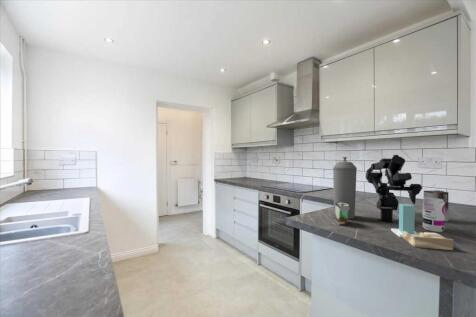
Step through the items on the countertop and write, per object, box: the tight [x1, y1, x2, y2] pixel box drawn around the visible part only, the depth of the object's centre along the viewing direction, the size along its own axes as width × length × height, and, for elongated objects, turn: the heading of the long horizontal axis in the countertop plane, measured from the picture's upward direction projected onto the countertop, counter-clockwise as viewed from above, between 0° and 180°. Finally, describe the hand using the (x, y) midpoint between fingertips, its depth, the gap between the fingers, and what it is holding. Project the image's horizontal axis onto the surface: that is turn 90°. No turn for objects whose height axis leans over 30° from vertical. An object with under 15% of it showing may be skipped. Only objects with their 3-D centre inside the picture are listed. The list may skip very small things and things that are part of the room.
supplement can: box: [421, 197, 446, 233], centre depth 112 cm, size 8×8×15 cm
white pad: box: [390, 228, 420, 238], centre depth 105 cm, size 9×9×1 cm
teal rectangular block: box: [398, 203, 416, 234], centre depth 105 cm, size 4×4×12 cm
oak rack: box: [402, 231, 454, 251], centre depth 94 cm, size 10×13×4 cm
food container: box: [334, 202, 350, 226], centre depth 123 cm, size 12×6×10 cm, turn 168°
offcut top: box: [423, 231, 444, 238], centre depth 94 cm, size 7×4×2 cm, turn 167°
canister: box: [332, 156, 358, 220], centre depth 134 cm, size 13×13×35 cm
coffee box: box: [423, 189, 449, 222], centre depth 128 cm, size 9×6×16 cm
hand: (403, 203), depth 109 cm, fingers open, 9 cm apart
